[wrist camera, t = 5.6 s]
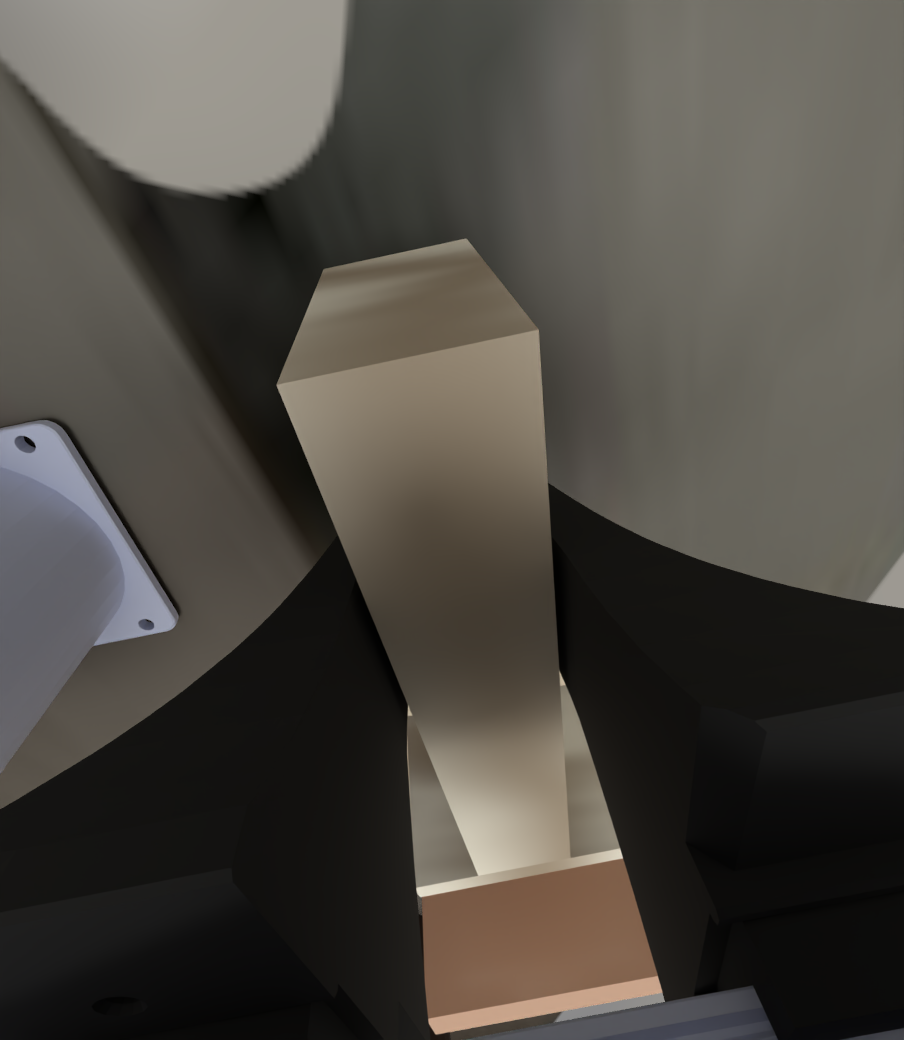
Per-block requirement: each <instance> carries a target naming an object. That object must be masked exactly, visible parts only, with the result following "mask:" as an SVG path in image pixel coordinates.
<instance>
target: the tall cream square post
mask: <svg viewBox="0 0 904 1040" xmlns="http://www.w3.org/2000/svg"><path fill="white" fill-rule="evenodd" d="M277 387H278V390H279V392H280V395H281V397H282V400H283V402H284V404H285V407H286V409H287V412H288V414H289V417H290V419H291V422H292V424H293V426H294V429H295V431H296V434H297V436H298V439H299V441H300V443H301V446H302V448H303V451H304V453H305V456H306V458H307V460H308V463H309V465H310V468H311V470H312V473H313V475H314V477H315V480H316V482H317V485H318V487H319V490H320V492H321V494H322V497H323V499H324V502H325V504H326V507H327V509H328V512H329V514H330V516H331V519H332V521H333V524H334V526H335V529H336V531H337V533H338V536H339V538H340V541H341V543H342V546H343V548H344V550H345V553H346V555H347V558H348V560H349V563H350V565H351V567H352V570H353V572H354V575H355V577H356V580H357V582H358V584H359V587H360V589H361V592H362V594H363V597H364V599H365V602H366V604H367V606H368V609H369V611H370V614H371V616H372V619H373V621H374V623H375V626H376V628H377V631H378V633H379V636H380V638H381V640H382V643H383V645H384V648H385V650H386V653H387V655H388V657H389V660H390V662H391V665H392V667H393V670H394V672H395V674H396V677H397V679H398V682H399V684H400V687H401V689H402V692H403V694H404V696H405V699H406V701H407V704H408V706H409V709H410V711H411V713H412V716H408V719H407V741H408V764H409V786H410V809H411V823H412V838H413V852H414V866H415V878H416V890H417V893H418V895H419V896H420V897H424V896H430V895H435V894H440V893H445V892H450V891H456V890H461V889H466V888H471V887H476V886H482V885H487V884H492V883H497V882H502V881H508V880H513V879H518V878H523V877H528V876H534V875H539V874H544V873H549V872H554V871H560V870H565V869H570V868H575V867H580V866H586V865H591V864H596V863H601V862H606V861H611V860H617V859H622V858H623V856H622V853H621V850H620V847H619V843H618V840H617V837H616V833H615V830H614V827H613V823H612V820H611V817H610V814H609V811H608V807H607V804H606V801H605V798H604V795H603V791H602V788H601V785H600V782H599V779H598V776H597V772H596V769H595V766H594V763H593V760H592V757H591V754H590V751H589V747H588V744H587V741H586V738H585V735H584V732H583V729H582V726H581V723H580V720H579V717H578V714H577V712H576V709H575V707H574V704H573V701H572V699H571V696H570V694H569V692H568V689H567V687H566V685H563V686H560V674H559V658H558V641H557V625H556V608H555V592H554V575H553V558H552V542H551V525H550V509H549V492H548V476H547V459H546V443H545V426H544V410H543V393H542V377H541V360H540V343H539V330H538V328H537V327H536V326H535V324H534V323H533V322H532V321H531V319H530V318H529V317H528V316H527V314H526V313H525V312H524V311H523V309H522V308H521V307H520V306H519V304H518V303H517V302H516V300H515V299H514V298H513V297H512V295H511V294H510V293H509V292H508V290H507V289H506V288H505V287H504V285H503V284H502V283H501V282H500V280H499V279H498V278H497V277H496V275H495V274H494V273H493V271H492V270H491V269H490V268H489V266H488V265H487V264H486V263H485V261H484V260H483V259H482V258H481V256H480V255H479V254H478V253H477V251H476V250H475V249H474V248H473V246H472V245H471V244H470V242H469V241H468V240H467V239H462V240H457V241H453V242H448V243H443V244H439V245H434V246H429V247H425V248H420V249H415V250H411V251H406V252H401V253H397V254H392V255H387V256H383V257H378V258H373V259H369V260H364V261H359V262H355V263H350V264H345V265H341V266H336V267H331V268H327V269H324V270H323V272H322V275H321V277H320V280H319V282H318V285H317V287H316V289H315V292H314V294H313V297H312V299H311V302H310V304H309V307H308V309H307V311H306V314H305V316H304V319H303V321H302V324H301V326H300V329H299V331H298V333H297V336H296V338H295V341H294V343H293V346H292V348H291V351H290V353H289V355H288V358H287V360H286V363H285V365H284V368H283V370H282V373H281V375H280V377H279V380H278V382H277Z"/></svg>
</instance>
